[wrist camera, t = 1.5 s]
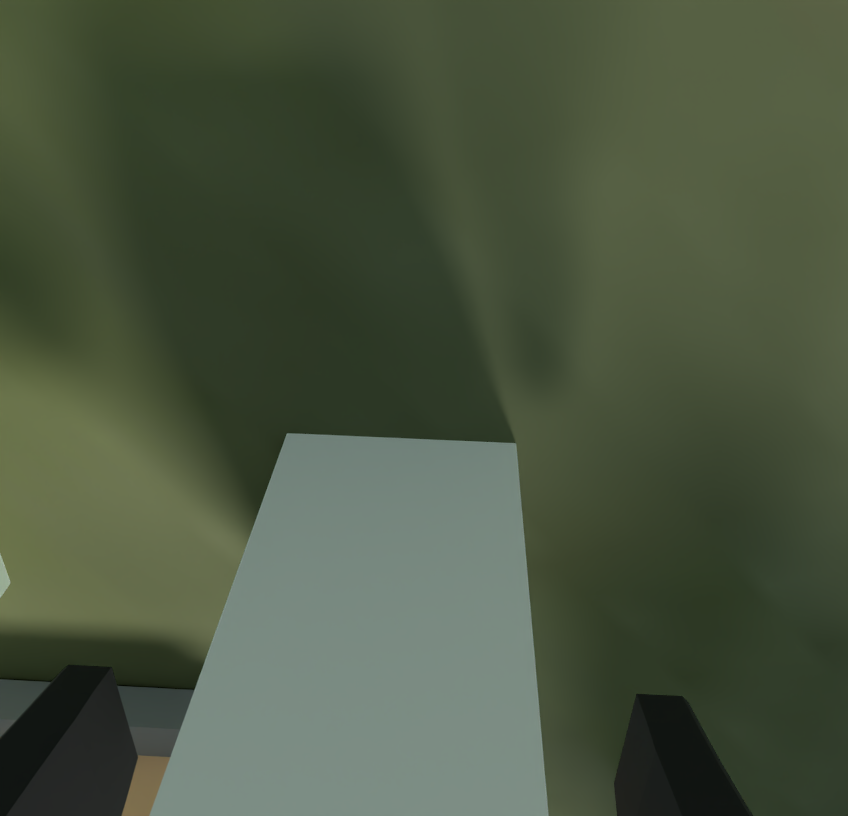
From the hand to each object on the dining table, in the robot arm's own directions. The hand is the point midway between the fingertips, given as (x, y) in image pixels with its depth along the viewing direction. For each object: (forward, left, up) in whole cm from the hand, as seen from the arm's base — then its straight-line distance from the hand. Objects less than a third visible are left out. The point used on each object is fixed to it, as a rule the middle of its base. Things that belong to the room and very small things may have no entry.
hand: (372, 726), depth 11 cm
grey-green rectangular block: (0, 0, -4) cm, 4 cm away
